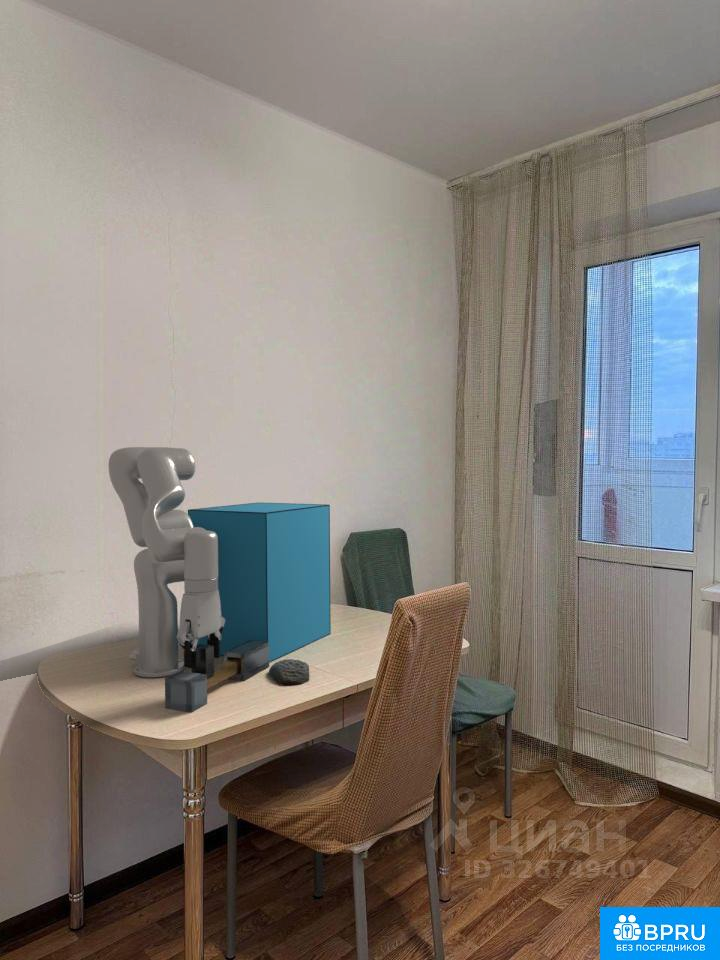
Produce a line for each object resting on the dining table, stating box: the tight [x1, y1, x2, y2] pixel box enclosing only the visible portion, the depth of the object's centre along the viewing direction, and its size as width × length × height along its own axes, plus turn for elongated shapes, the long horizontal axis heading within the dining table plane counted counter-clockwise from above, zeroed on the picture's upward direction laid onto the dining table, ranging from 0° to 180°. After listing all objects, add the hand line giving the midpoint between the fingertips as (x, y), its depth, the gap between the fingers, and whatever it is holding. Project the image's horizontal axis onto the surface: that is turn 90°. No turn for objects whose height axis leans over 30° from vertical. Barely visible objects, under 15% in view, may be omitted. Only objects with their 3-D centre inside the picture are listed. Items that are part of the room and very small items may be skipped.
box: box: [187, 502, 332, 664], centre depth 197 cm, size 27×33×40 cm
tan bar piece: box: [190, 644, 241, 690], centre depth 156 cm, size 4×22×9 cm, turn 157°
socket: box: [164, 670, 208, 713], centre depth 147 cm, size 7×6×6 cm
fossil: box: [268, 658, 310, 687], centre depth 166 cm, size 10×13×4 cm
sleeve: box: [223, 640, 270, 682], centre depth 170 cm, size 6×12×6 cm, turn 157°
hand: (202, 661), depth 152 cm, fingers open, 8 cm apart
